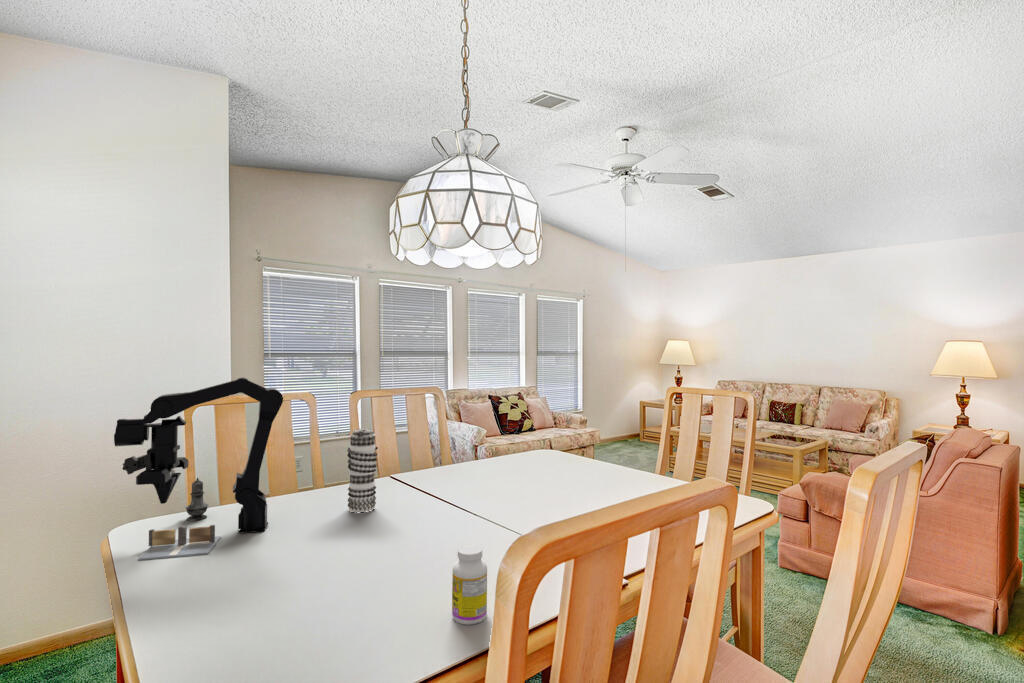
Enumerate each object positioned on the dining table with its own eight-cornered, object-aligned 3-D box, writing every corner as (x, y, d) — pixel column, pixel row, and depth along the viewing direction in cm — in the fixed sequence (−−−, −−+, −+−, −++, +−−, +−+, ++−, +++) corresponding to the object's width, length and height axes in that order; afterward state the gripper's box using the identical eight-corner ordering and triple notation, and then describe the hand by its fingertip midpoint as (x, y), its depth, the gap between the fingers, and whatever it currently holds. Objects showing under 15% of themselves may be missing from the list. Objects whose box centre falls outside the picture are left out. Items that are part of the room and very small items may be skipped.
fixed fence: (215, 542, 135) (215, 523, 135) (213, 544, 133) (213, 525, 133) (179, 545, 133) (179, 526, 133) (176, 547, 131) (177, 528, 131)
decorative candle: (351, 504, 168) (352, 427, 168) (379, 504, 168) (380, 427, 168) (342, 513, 159) (343, 432, 159) (373, 513, 159) (374, 432, 159)
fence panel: (175, 542, 132) (175, 527, 132) (173, 544, 131) (174, 529, 131) (149, 544, 130) (150, 529, 130) (147, 546, 129) (148, 531, 129)
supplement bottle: (452, 608, 102) (453, 543, 102) (486, 607, 102) (486, 542, 102) (451, 627, 95) (452, 556, 95) (487, 625, 96) (488, 555, 96)
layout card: (220, 537, 138) (220, 535, 138) (208, 554, 127) (208, 552, 127) (156, 542, 134) (156, 541, 134) (137, 560, 123) (137, 558, 123)
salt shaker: (197, 522, 150) (198, 480, 150) (180, 520, 151) (180, 479, 151) (213, 515, 155) (213, 475, 156) (196, 514, 157) (197, 474, 157)
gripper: (143, 438, 142) (142, 495, 141) (111, 451, 124) (110, 517, 124) (189, 436, 145) (188, 492, 145) (164, 449, 127) (163, 513, 127)
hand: (163, 503), depth 135 cm, fingers closed
